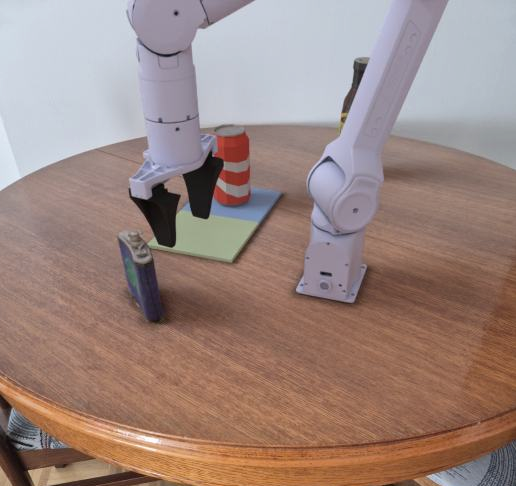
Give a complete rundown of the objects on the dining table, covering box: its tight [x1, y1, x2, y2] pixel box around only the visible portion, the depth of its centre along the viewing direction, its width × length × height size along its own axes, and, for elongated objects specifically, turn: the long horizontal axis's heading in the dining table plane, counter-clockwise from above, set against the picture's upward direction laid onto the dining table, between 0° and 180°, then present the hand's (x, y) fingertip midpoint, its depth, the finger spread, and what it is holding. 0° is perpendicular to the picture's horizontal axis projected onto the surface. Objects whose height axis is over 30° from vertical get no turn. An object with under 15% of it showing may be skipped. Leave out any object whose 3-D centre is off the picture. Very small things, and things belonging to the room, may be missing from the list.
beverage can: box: [211, 123, 251, 206], centre depth 90 cm, size 6×6×12 cm
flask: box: [116, 229, 165, 325], centre depth 69 cm, size 9×3×11 cm, turn 28°
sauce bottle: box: [337, 56, 371, 138], centre depth 96 cm, size 7×6×20 cm
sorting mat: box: [147, 186, 283, 264], centre depth 90 cm, size 24×14×1 cm, turn 160°
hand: (184, 230), depth 66 cm, fingers open, 7 cm apart
